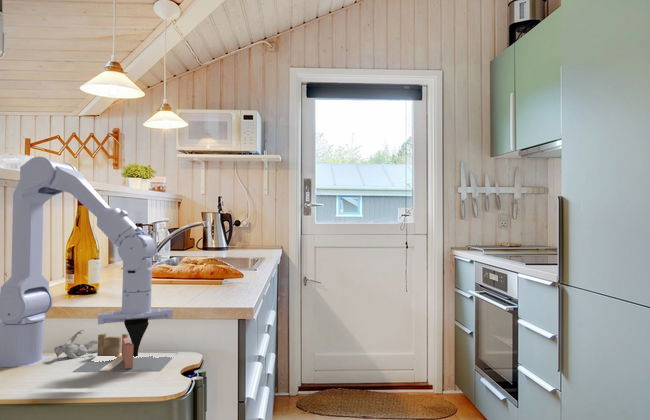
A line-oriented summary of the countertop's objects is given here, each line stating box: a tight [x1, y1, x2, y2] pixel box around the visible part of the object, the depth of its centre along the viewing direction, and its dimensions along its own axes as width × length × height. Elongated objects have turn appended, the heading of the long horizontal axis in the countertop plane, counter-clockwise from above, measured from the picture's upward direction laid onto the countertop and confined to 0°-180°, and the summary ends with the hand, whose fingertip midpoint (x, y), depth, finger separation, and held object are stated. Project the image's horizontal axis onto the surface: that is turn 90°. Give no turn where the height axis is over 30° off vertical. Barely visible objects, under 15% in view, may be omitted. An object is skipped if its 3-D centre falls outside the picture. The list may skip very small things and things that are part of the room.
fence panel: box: [121, 337, 134, 369], centre depth 94 cm, size 10×1×5 cm, turn 29°
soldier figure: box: [53, 329, 98, 360], centre depth 100 cm, size 8×5×12 cm
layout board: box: [72, 351, 179, 373], centre depth 95 cm, size 17×14×1 cm
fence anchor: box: [96, 333, 129, 356], centre depth 99 cm, size 6×1×5 cm, turn 94°
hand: (135, 355), depth 94 cm, fingers closed
